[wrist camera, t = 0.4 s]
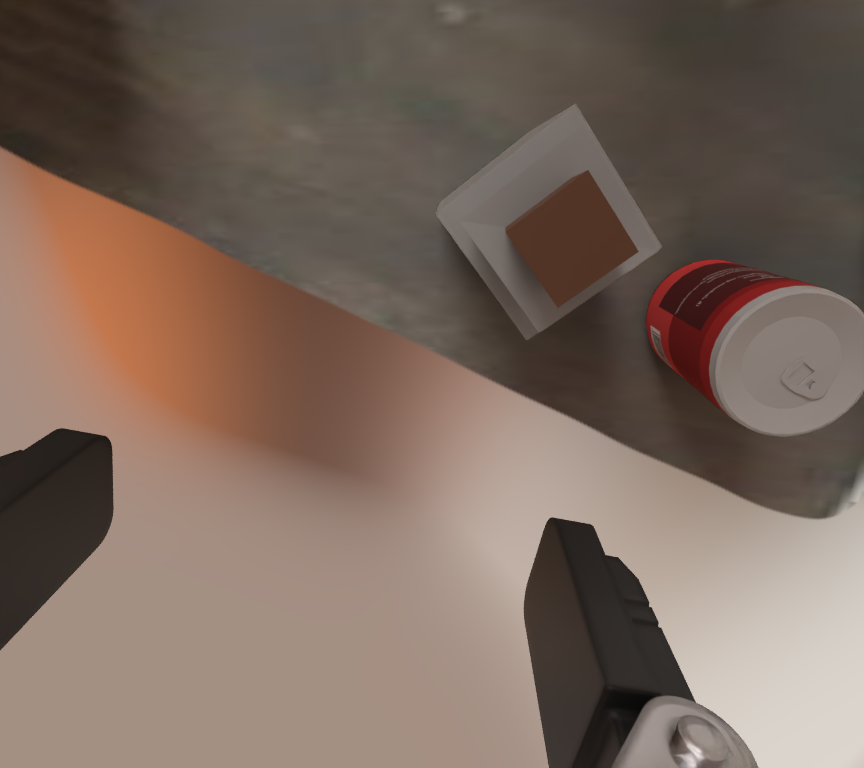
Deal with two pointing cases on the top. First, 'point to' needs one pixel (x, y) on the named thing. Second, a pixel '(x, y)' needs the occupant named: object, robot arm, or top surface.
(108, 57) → the top surface
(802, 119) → the top surface
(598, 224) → the perfume bottle
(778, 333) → the canned food
